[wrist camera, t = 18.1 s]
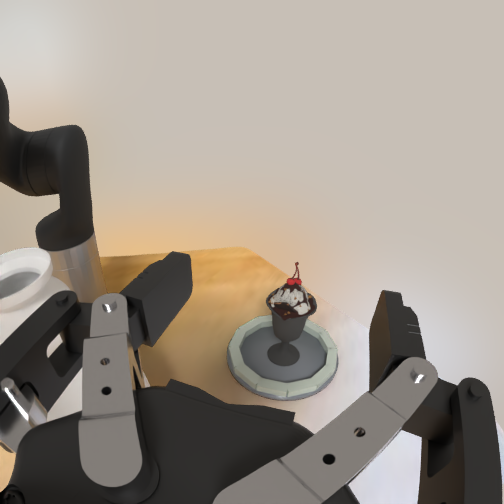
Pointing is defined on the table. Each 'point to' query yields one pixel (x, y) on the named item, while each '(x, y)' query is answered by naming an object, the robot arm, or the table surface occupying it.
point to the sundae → (289, 319)
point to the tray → (282, 377)
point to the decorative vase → (29, 300)
